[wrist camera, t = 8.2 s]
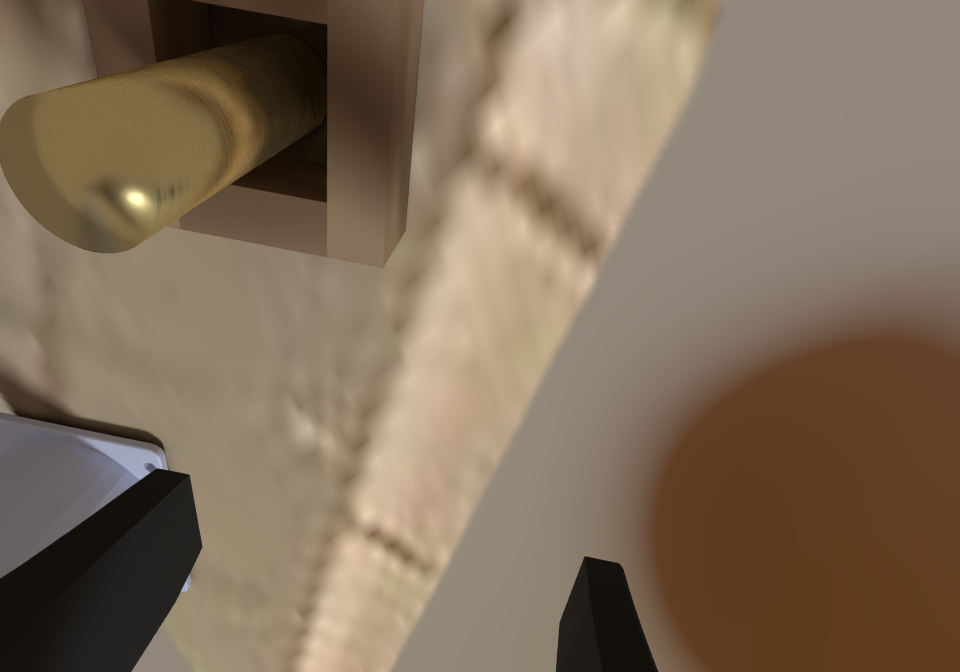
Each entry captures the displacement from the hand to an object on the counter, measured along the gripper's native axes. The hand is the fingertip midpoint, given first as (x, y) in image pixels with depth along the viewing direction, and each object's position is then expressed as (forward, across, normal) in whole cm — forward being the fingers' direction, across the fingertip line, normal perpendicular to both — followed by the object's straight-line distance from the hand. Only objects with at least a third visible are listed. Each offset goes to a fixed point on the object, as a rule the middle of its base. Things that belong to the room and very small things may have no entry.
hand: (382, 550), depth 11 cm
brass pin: (+9, +6, -6) cm, 12 cm away
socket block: (+9, +6, -6) cm, 12 cm away
